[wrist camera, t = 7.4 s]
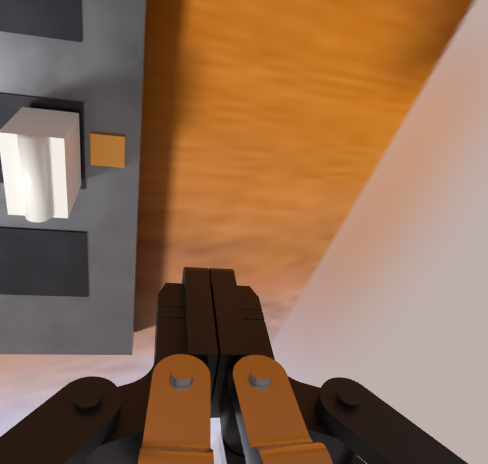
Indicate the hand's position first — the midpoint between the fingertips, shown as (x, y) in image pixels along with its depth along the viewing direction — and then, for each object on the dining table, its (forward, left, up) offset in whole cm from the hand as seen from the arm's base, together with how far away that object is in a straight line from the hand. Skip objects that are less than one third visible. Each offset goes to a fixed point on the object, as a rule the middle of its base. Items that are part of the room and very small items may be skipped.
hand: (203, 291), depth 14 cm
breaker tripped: (0, -6, -10) cm, 12 cm away
